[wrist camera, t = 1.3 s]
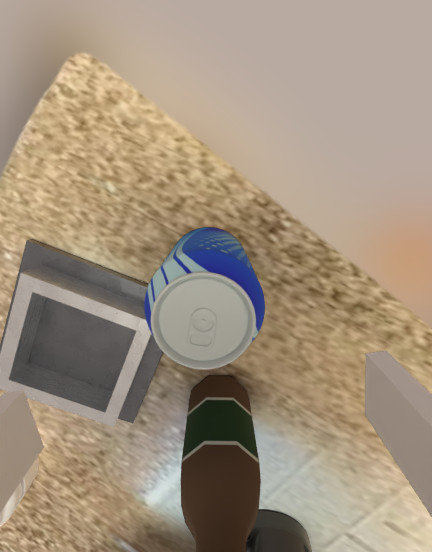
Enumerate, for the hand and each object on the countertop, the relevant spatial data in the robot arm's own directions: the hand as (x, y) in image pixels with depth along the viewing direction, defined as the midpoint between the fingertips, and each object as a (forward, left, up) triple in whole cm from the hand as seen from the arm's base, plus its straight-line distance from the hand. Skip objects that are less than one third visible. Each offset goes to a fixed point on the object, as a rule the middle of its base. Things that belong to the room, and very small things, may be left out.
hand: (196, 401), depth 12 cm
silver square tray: (-14, +10, -23) cm, 29 cm away
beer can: (0, 0, -24) cm, 24 cm away
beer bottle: (-16, -8, -24) cm, 30 cm away
